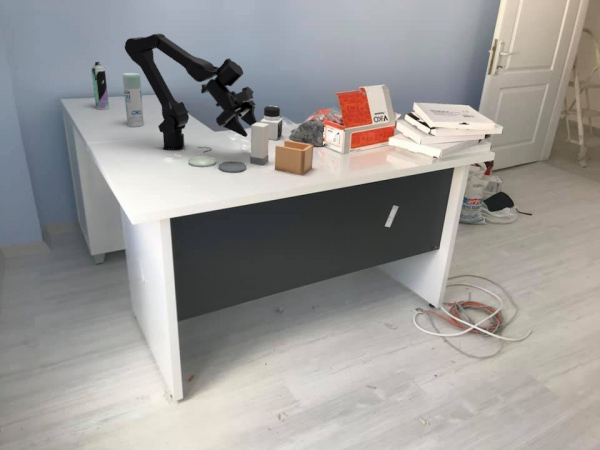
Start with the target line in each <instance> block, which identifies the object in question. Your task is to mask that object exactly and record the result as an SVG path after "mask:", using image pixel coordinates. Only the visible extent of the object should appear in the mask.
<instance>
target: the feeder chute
mask: <svg viewBox="0 0 600 450" xmlns="http://www.w3.org/2000/svg"><path fill="white" fill-rule="evenodd" d="M314 146H315V145H311V144H305V143H300V142H294V141H292V140H289V139H288V140H287V139H285V140H284V144H283V146H282V145H275V149H274V150H275V151H274V152H275V155H274V171H280V172H285V173H289V174H295V175H299V176H305V174H307V173H308V172H309V171H310V170H312V168H313V159H314Z"/></svg>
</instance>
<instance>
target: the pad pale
mask: <svg viewBox="0 0 600 450" xmlns="http://www.w3.org/2000/svg"><path fill="white" fill-rule="evenodd" d="M187 162H188V165H190V166H193V167H197V168H208V167H212V166H214V165H216V163H217V160H216V158H215V157H212V156H210V155H209V156H207V155H197V156H196V155H195V156H192V157H189V158H188V160H187Z"/></svg>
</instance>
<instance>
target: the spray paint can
mask: <svg viewBox="0 0 600 450" xmlns="http://www.w3.org/2000/svg"><path fill="white" fill-rule="evenodd" d="M122 80H123V81H122V83H123V91H124V102H125V112H126V122H127V126H128V127H130V128H131V127H132V128H140V127H143V126H144V123H145V122H144V107H143V95H142V82H141V74H140V73H137V72H125V73H122Z"/></svg>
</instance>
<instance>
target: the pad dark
mask: <svg viewBox="0 0 600 450" xmlns="http://www.w3.org/2000/svg"><path fill="white" fill-rule="evenodd" d="M217 168H218V170H219V171H221V172H223V173H231V174H232V173H233V174H234V173H235V174H236V173H241V172H244V171H246V170H247V164H246V163H244V162H241V161H237V160H236V161H235V160H233V161H232V160H230V161H229V160H227V161H223V162H220V163H219V164H218V167H217Z"/></svg>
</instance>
